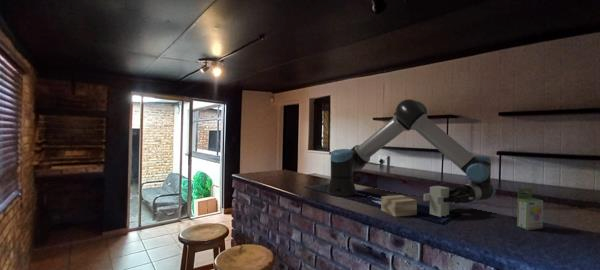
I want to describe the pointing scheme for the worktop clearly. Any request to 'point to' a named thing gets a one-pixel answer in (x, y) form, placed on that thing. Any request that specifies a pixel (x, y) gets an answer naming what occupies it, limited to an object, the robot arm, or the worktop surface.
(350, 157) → the robot arm
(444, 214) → the sage block
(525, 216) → the ink box
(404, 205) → the birch block
